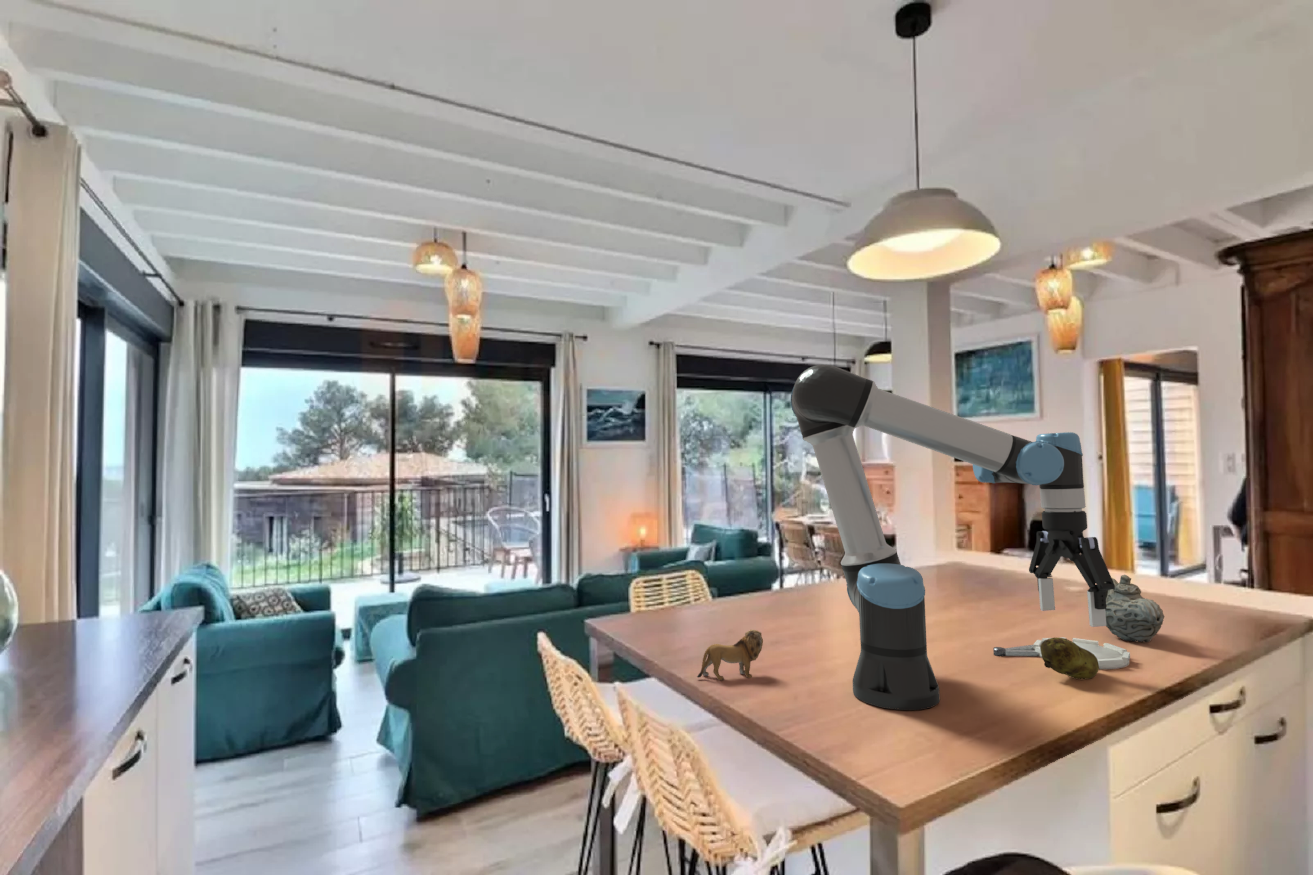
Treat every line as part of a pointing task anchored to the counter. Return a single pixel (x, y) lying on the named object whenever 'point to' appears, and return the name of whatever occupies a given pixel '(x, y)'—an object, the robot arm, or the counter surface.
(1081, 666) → the potato
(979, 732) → the counter surface
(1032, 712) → the counter surface
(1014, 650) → the open tongs prop
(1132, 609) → the teapot
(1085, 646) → the plate
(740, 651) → the lion figurine
